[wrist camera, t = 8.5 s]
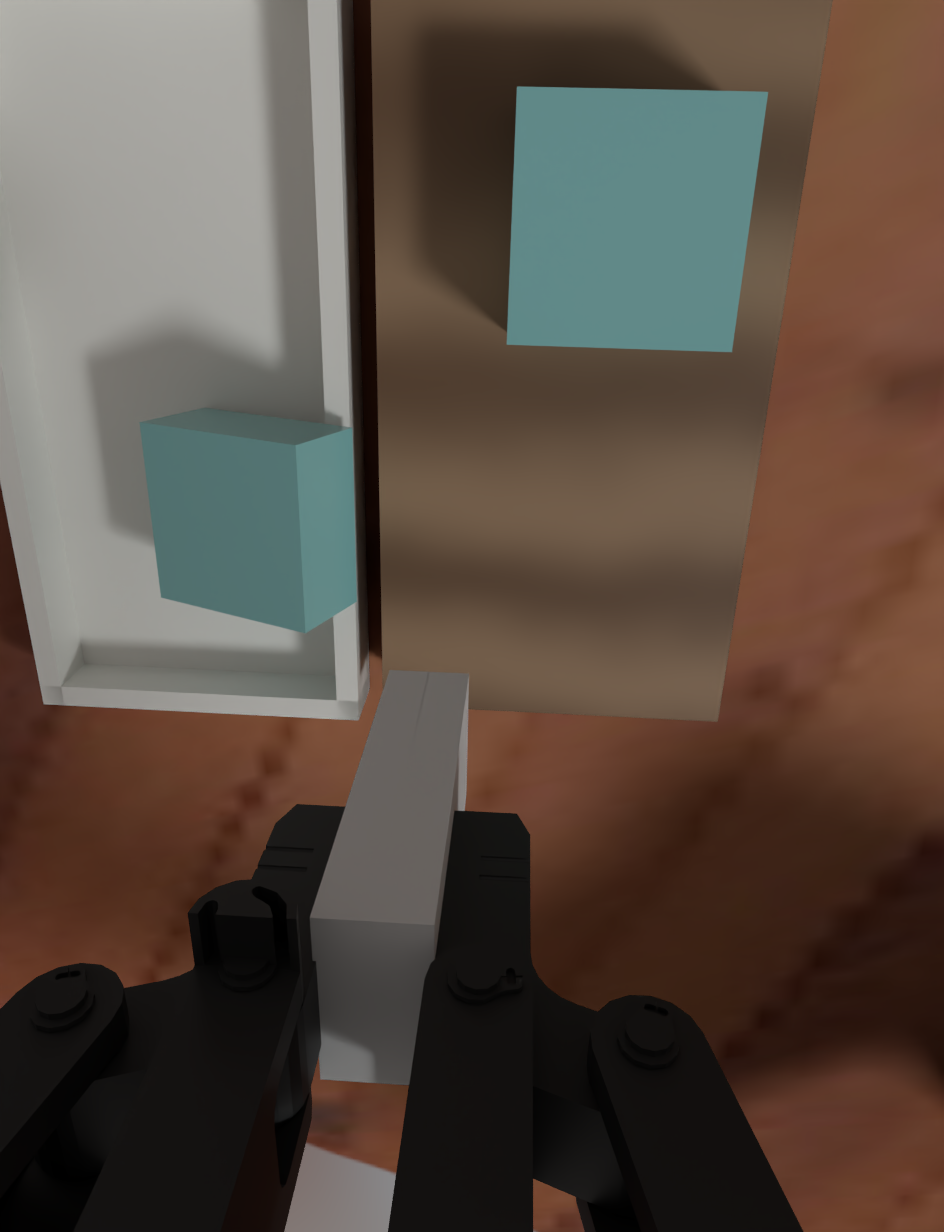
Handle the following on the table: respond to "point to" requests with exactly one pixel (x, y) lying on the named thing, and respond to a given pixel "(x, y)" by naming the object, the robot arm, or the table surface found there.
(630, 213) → the tile
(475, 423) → the board
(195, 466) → the tile
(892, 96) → the table surface
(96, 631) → the tray
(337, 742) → the table surface
